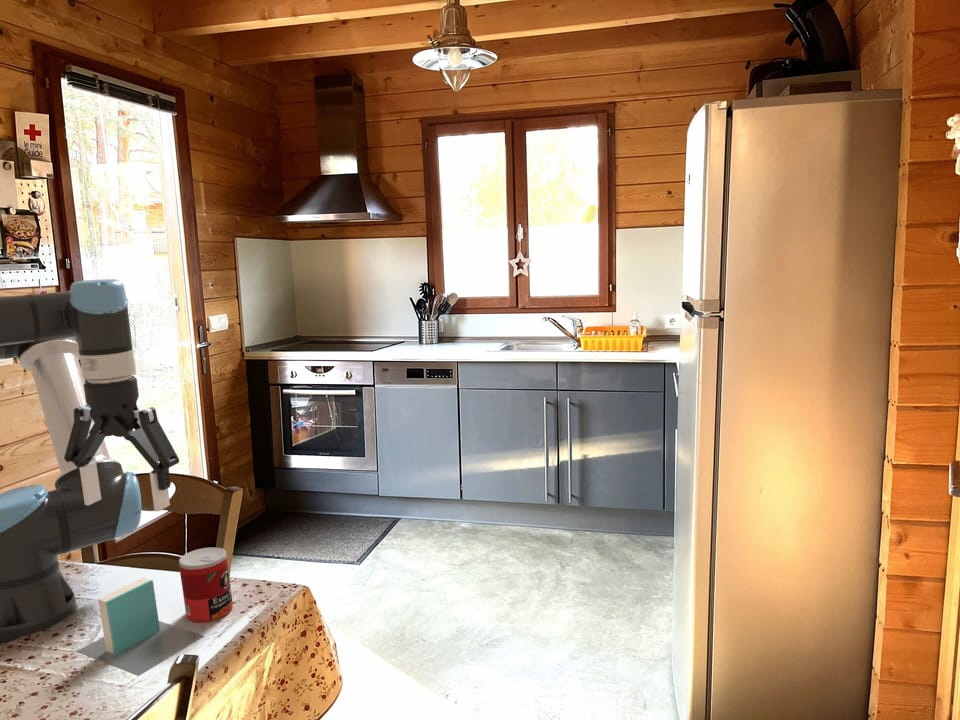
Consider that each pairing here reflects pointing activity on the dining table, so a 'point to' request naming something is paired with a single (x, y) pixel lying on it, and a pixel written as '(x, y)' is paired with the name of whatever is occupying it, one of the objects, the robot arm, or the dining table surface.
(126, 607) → the tile
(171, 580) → the dining table surface
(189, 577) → the canned food
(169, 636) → the slate board
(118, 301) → the robot arm
